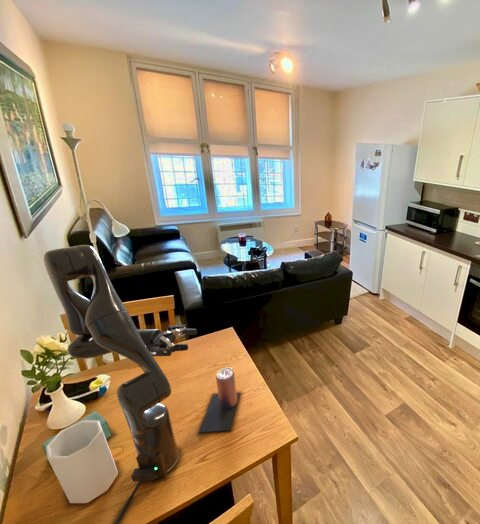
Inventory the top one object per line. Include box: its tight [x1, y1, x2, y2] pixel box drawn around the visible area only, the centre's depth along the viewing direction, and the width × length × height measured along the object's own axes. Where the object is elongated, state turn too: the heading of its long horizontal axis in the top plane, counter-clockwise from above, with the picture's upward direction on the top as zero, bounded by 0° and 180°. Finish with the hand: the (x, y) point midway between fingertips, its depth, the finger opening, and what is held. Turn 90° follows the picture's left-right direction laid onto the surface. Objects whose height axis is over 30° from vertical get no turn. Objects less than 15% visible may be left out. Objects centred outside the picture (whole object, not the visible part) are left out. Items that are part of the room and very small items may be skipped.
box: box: [41, 410, 113, 458], centre depth 89 cm, size 7×14×8 cm, turn 153°
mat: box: [199, 392, 241, 434], centre depth 105 cm, size 16×10×1 cm, turn 8°
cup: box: [46, 421, 119, 504], centre depth 78 cm, size 11×11×18 cm
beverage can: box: [215, 366, 237, 409], centre depth 105 cm, size 6×6×15 cm
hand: (192, 339), depth 100 cm, fingers open, 8 cm apart
